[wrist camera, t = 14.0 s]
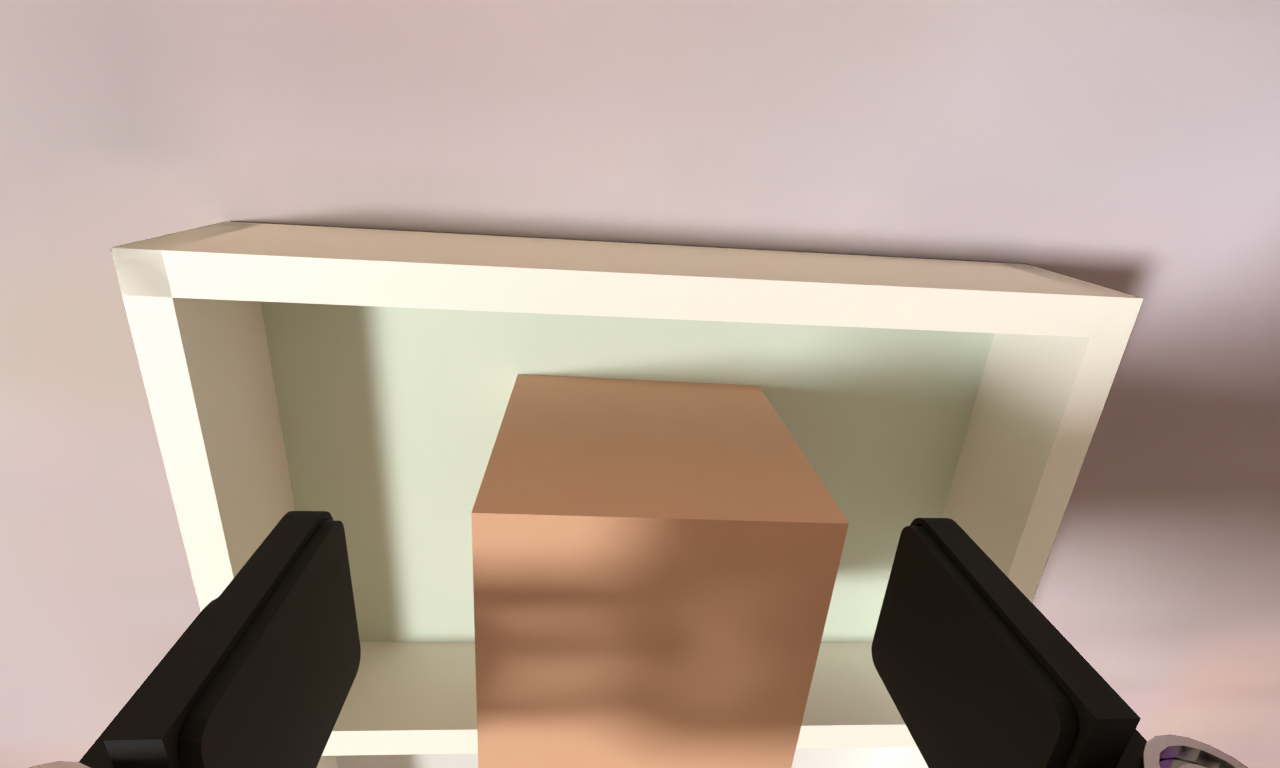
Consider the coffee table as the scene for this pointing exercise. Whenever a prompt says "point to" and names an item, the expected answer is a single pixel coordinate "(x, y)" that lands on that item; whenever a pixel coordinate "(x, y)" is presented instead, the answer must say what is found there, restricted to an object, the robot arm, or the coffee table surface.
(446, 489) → the sorting box
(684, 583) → the plain light orange cube
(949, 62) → the coffee table surface
